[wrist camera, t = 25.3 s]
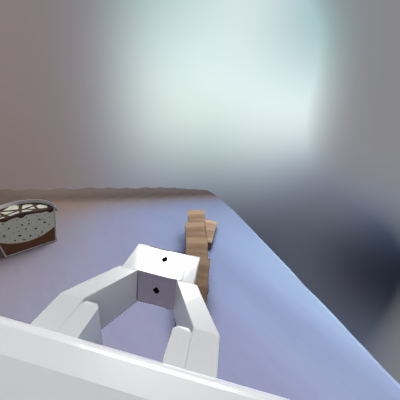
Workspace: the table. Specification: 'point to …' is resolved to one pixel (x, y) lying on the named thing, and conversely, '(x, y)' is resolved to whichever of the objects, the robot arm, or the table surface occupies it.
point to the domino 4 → (203, 277)
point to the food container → (26, 225)
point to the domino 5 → (210, 231)
